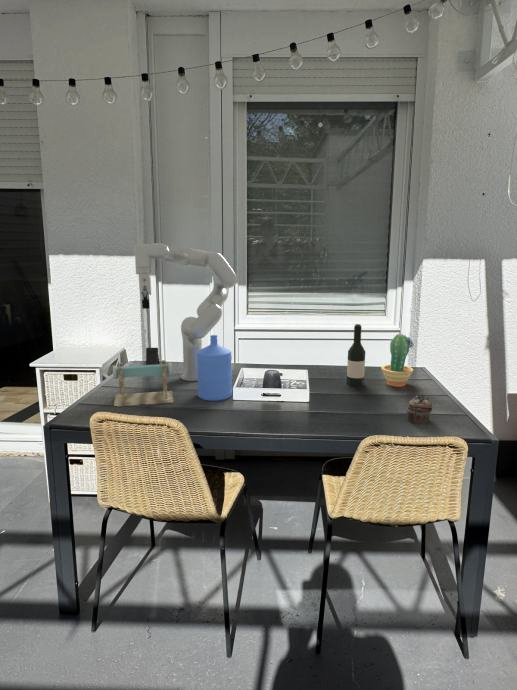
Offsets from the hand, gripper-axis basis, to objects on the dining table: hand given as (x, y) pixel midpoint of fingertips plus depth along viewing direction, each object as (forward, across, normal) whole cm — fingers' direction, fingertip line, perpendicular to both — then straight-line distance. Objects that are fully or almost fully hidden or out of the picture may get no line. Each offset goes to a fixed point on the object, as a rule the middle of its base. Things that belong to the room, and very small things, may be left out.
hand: (145, 307), depth 233 cm
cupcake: (+39, -72, -104) cm, 132 cm away
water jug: (+38, -25, -29) cm, 54 cm away
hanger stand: (+38, -24, +3) cm, 45 cm away
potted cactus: (+39, -26, -119) cm, 128 cm away
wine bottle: (+38, -22, -99) cm, 108 cm away
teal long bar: (+28, -24, +2) cm, 37 cm away
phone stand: (+38, +28, -2) cm, 48 cm away
